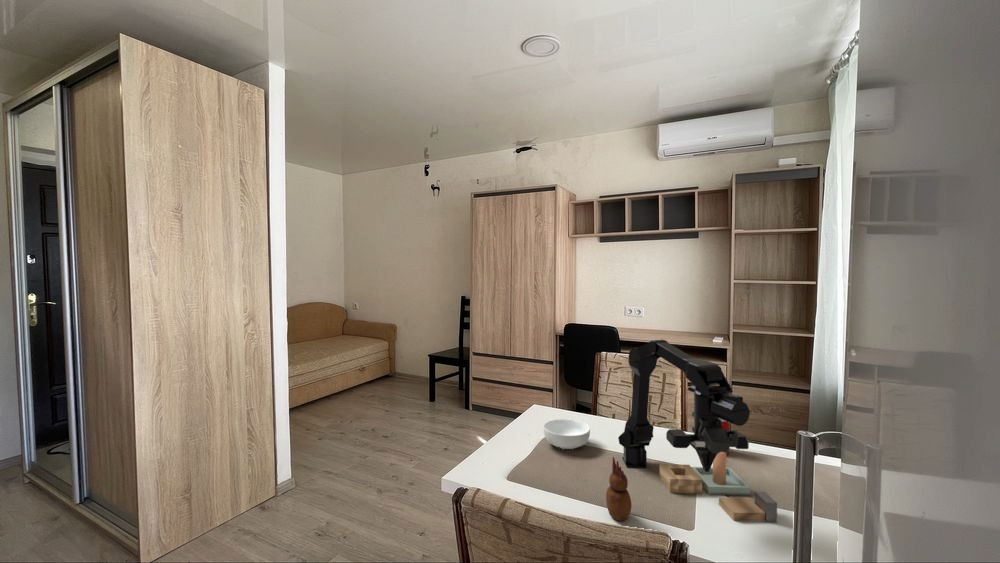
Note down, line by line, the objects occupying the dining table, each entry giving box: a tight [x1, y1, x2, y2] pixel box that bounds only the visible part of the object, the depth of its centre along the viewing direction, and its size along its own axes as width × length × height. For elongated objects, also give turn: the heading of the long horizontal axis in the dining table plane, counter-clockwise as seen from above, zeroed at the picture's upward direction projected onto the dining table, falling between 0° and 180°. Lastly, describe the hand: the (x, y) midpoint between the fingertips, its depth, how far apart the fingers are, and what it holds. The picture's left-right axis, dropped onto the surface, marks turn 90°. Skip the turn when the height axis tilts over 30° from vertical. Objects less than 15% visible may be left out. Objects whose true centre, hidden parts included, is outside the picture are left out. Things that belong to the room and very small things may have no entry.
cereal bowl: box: [543, 418, 591, 450], centre depth 147 cm, size 17×17×7 cm
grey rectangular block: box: [754, 491, 778, 523], centre depth 104 cm, size 3×5×5 cm, turn 176°
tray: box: [691, 466, 752, 496], centre depth 120 cm, size 12×12×2 cm
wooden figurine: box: [605, 456, 632, 522], centre depth 104 cm, size 7×6×15 cm
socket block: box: [659, 463, 703, 494], centre depth 119 cm, size 9×9×4 cm
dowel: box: [712, 452, 727, 485], centre depth 120 cm, size 4×4×9 cm
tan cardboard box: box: [718, 496, 766, 522], centre depth 106 cm, size 8×7×2 cm
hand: (706, 471), depth 104 cm, fingers closed
